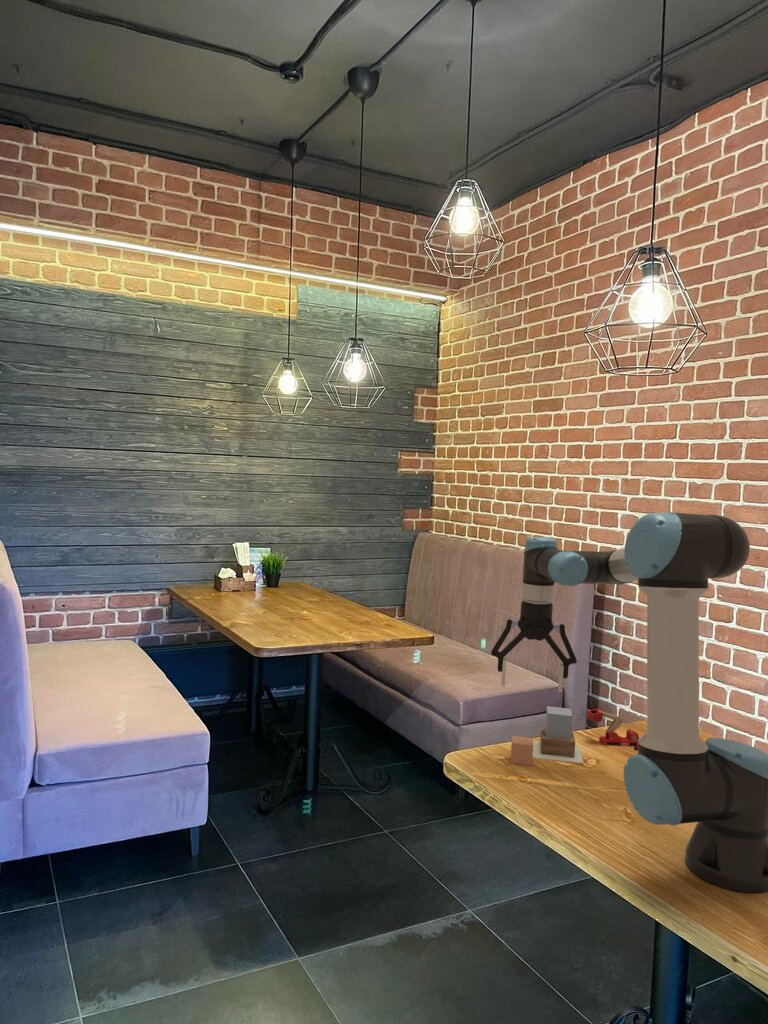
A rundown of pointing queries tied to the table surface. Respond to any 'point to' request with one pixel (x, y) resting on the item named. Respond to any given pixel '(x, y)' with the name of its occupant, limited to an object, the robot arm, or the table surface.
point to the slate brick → (558, 723)
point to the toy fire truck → (611, 736)
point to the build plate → (538, 754)
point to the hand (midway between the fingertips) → (531, 688)
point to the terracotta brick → (522, 750)
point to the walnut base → (557, 745)
